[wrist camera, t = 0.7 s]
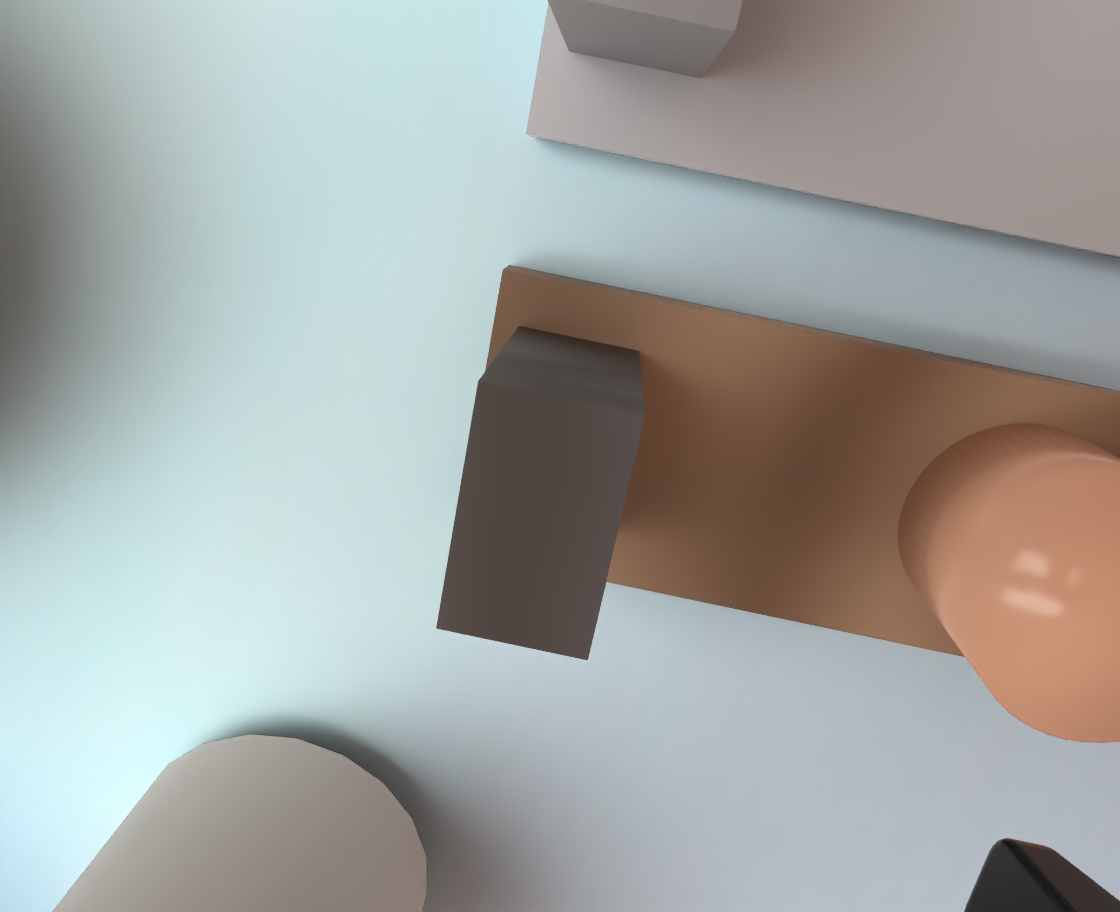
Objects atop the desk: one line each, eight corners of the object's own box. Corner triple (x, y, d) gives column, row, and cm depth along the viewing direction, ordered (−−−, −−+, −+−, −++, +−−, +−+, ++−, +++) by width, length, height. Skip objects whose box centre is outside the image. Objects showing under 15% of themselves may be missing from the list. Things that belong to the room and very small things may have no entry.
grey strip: (1449, -54, 15) (1962, -200, 9) (1292, 292, 17) (1636, 349, 11) (594, -226, 15) (576, -477, 9) (531, 136, 17) (484, 112, 11)
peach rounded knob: (1161, 448, 17) (1318, 525, 13) (1076, 644, 18) (1196, 766, 14) (938, 402, 17) (1031, 465, 13) (870, 601, 18) (935, 711, 14)
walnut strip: (1235, 415, 18) (1531, 527, 12) (1119, 669, 19) (1327, 872, 14) (509, 265, 18) (454, 303, 12) (462, 532, 19) (396, 676, 14)
